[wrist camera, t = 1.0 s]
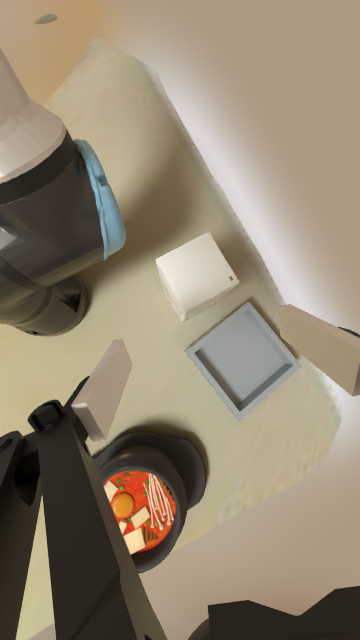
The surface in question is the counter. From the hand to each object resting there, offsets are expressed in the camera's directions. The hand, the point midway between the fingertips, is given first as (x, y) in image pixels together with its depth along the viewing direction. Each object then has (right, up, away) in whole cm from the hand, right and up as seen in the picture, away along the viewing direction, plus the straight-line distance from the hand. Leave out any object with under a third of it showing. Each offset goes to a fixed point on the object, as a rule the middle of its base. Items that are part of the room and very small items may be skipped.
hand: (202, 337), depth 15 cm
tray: (+11, -7, +23) cm, 27 cm away
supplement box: (0, +7, +25) cm, 26 cm away
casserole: (-9, -30, +21) cm, 37 cm away
